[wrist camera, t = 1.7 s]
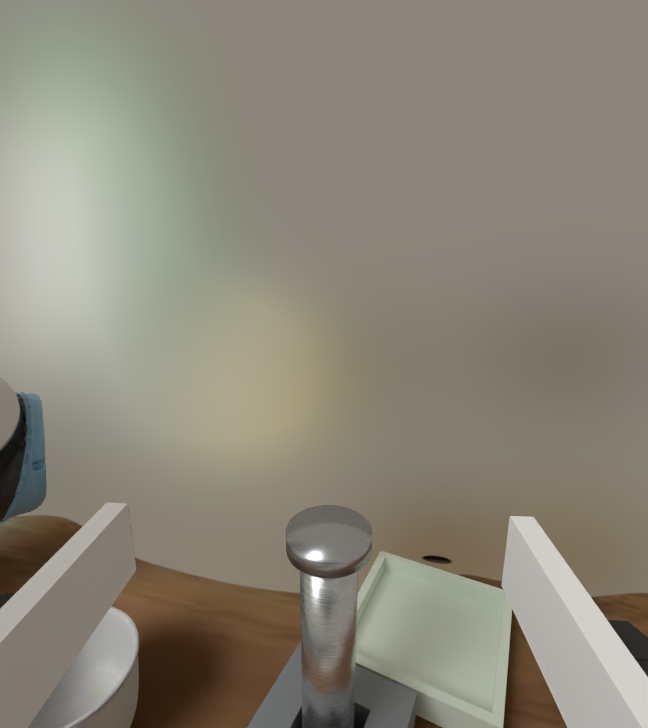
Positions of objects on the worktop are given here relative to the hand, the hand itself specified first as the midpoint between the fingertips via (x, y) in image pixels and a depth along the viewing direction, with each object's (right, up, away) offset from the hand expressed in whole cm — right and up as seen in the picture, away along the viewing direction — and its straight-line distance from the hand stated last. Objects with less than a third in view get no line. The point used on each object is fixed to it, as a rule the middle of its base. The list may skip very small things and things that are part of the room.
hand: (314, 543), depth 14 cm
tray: (+10, -20, +25) cm, 34 cm away
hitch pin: (+1, -23, +16) cm, 27 cm away
